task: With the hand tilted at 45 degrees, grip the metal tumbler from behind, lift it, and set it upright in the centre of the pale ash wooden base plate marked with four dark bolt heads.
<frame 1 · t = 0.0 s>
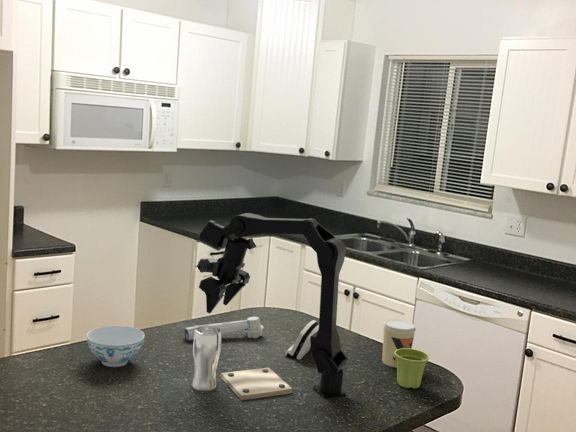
hand: (216, 308, 176), 15 cm above the counter, tool pointing down, fingers open, 9 cm apart
metal tumbler: (204, 387, 162), on the counter
cream lidded tub: (395, 363, 190), on the counter
white layered curved block: (304, 351, 193), on the counter
chinaware: (114, 362, 172), on the counter
grey long bar: (224, 338, 198), on the counter
bolt plate: (255, 385, 165), on the counter
plant pot: (408, 385, 175), on the counter
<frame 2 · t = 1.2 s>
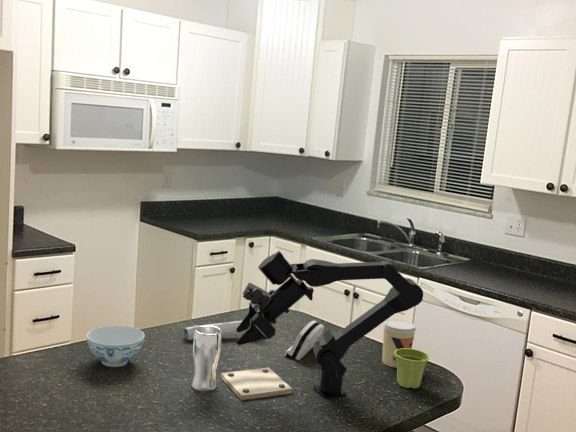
hand: (237, 337, 161), 13 cm above the counter, tool tilted 45°, fingers open, 9 cm apart
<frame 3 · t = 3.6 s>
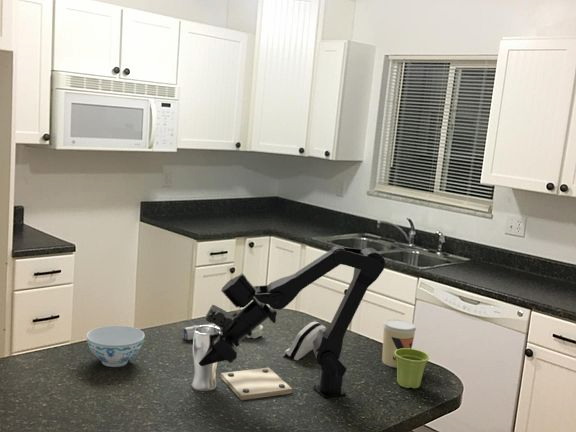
hand: (200, 359, 161), 7 cm above the counter, tool tilted 45°, fingers closed on metal tumbler, 6 cm apart
metal tumbler: (204, 386, 162), on the counter, touching gripper
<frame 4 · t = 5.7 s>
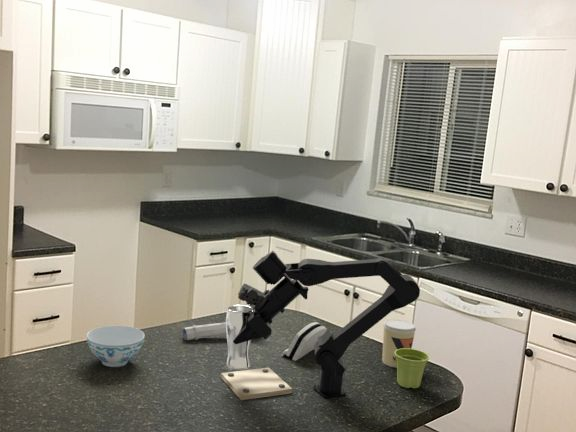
hand: (233, 338, 162), 13 cm above the counter, tool tilted 45°, fingers closed on metal tumbler, 6 cm apart
metal tumbler: (238, 366, 163), point 5 cm above the counter, touching gripper
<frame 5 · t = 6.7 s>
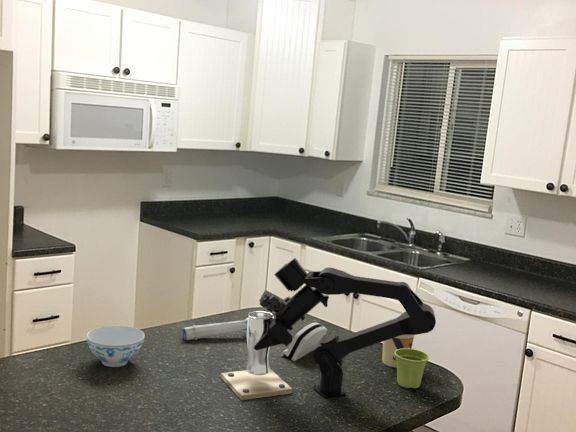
hand: (254, 344, 163), 11 cm above the counter, tool tilted 45°, fingers closed on metal tumbler, 6 cm apart
metal tumbler: (257, 371, 165), point 4 cm above the counter, touching gripper
when the fingers open (9 cm above the counter, at t = 7.6 s): metal tumbler stays where it is, resting on bolt plate.
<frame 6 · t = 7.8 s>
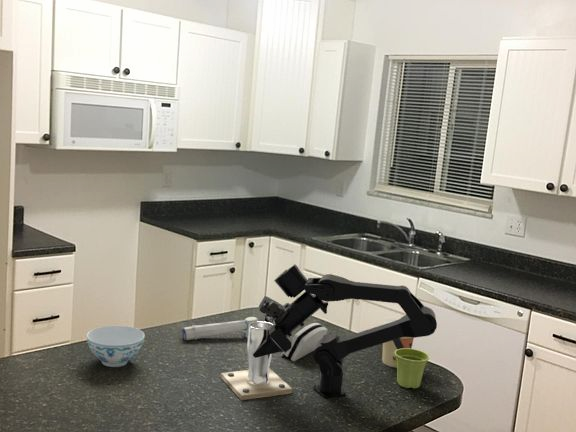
hand: (253, 349, 164), 10 cm above the counter, tool tilted 45°, fingers open, 9 cm apart
metal tumbler: (257, 381, 165), point 1 cm above the counter, touching bolt plate
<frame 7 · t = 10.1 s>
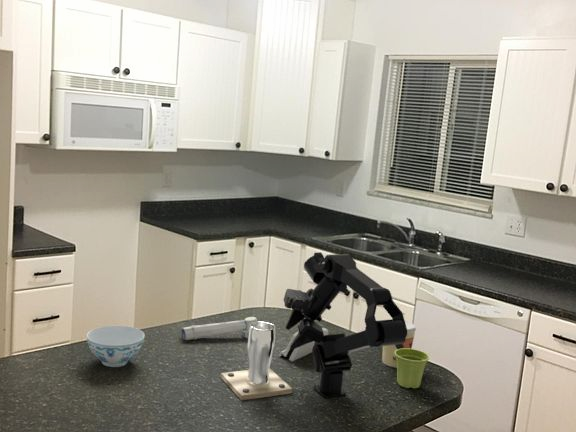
hand: (289, 338, 170), 11 cm above the counter, tool tilted 30°, fingers open, 9 cm apart
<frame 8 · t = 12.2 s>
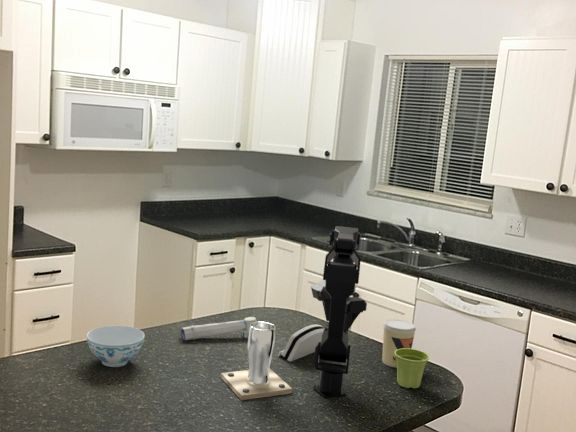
hand: (336, 326, 178), 13 cm above the counter, tool pointing down, fingers open, 9 cm apart
at the end: metal tumbler inside the target area on the bolt plate (0.6 cm from its centre), point 1.0 cm above the bolt plate's base; metal tumbler tilted 0°; the gripper is holding nothing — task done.
